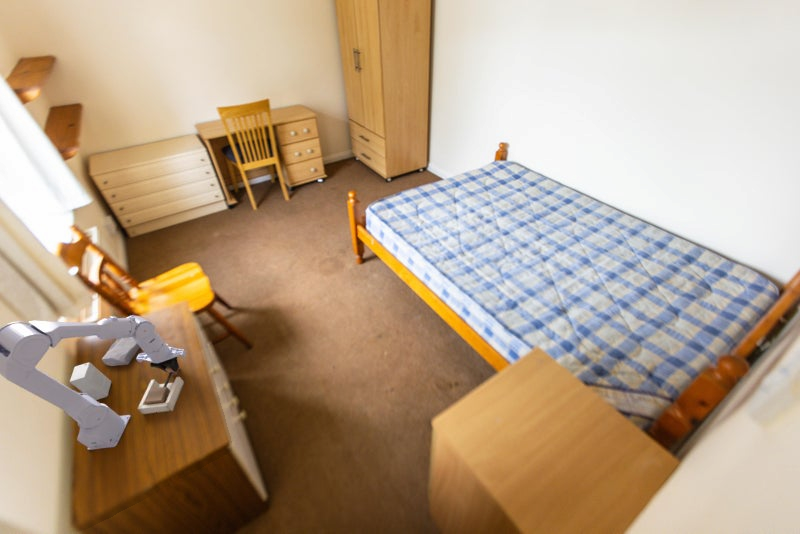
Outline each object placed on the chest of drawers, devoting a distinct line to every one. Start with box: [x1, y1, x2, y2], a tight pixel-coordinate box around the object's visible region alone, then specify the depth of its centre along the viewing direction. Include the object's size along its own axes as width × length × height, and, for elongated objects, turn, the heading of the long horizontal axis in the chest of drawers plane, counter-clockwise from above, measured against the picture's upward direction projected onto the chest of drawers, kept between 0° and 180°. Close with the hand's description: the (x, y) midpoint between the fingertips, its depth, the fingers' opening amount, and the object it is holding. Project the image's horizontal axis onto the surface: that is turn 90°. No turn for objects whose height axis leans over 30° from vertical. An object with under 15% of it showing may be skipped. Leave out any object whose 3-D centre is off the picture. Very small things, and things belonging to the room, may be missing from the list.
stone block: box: [101, 337, 141, 367], centre depth 127 cm, size 12×5×10 cm
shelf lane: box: [137, 376, 185, 415], centre depth 112 cm, size 10×9×4 cm
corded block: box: [144, 366, 180, 405], centre depth 114 cm, size 14×5×4 cm, turn 6°
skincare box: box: [69, 362, 112, 401], centre depth 112 cm, size 6×4×12 cm
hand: (173, 369), depth 119 cm, fingers closed on corded block, 2 cm apart
